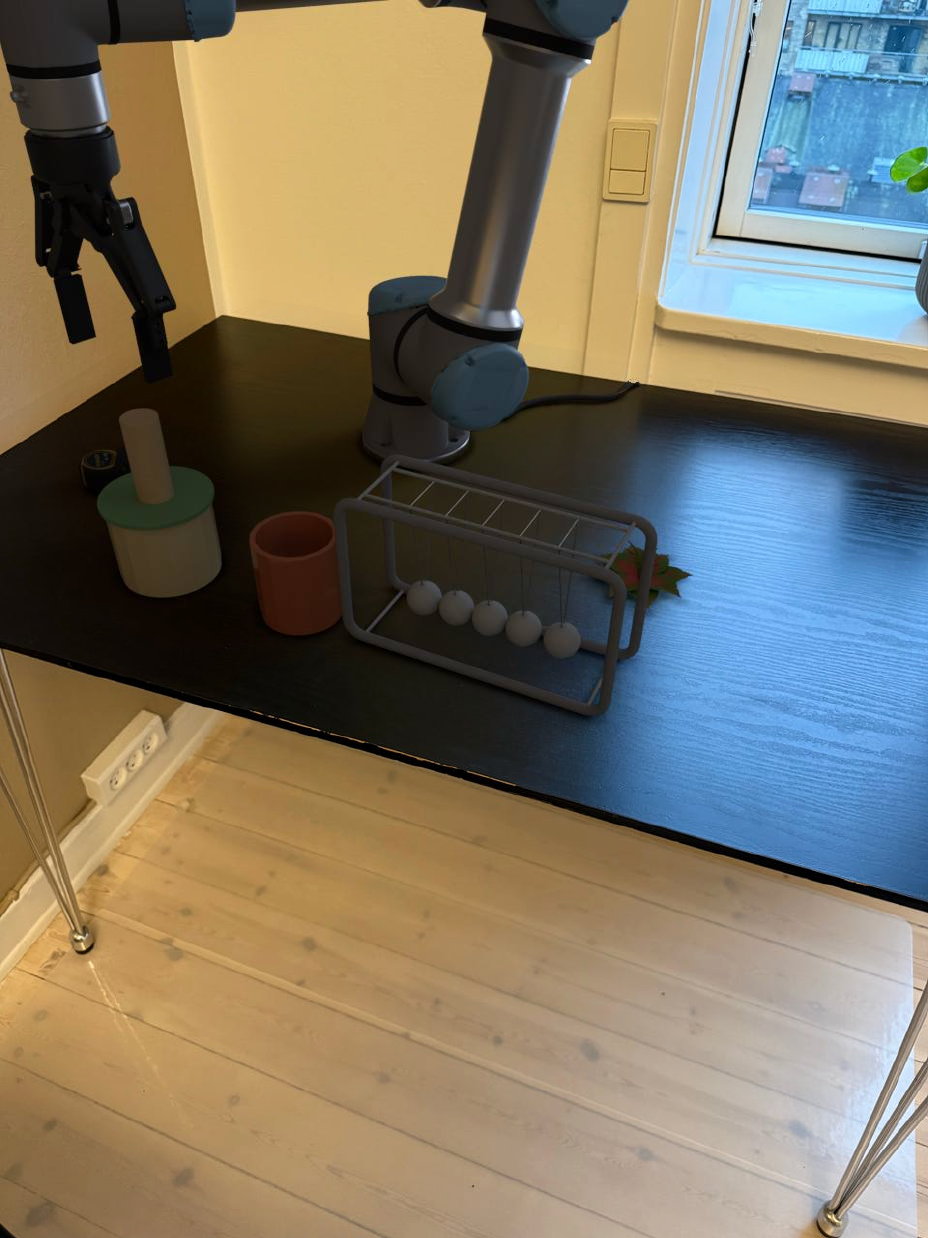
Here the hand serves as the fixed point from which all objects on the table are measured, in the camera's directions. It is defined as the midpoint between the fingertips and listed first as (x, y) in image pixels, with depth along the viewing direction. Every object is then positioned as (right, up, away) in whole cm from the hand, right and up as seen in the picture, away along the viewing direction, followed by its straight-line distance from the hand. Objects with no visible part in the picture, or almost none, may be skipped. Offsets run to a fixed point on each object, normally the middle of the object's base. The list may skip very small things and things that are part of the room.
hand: (119, 358), depth 96 cm
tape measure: (-12, -8, +31) cm, 34 cm away
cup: (+17, -25, +10) cm, 32 cm away
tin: (0, -20, +16) cm, 26 cm away
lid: (0, -13, +10) cm, 16 cm away
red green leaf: (+55, -22, +16) cm, 61 cm away
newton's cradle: (+37, -30, +6) cm, 48 cm away
